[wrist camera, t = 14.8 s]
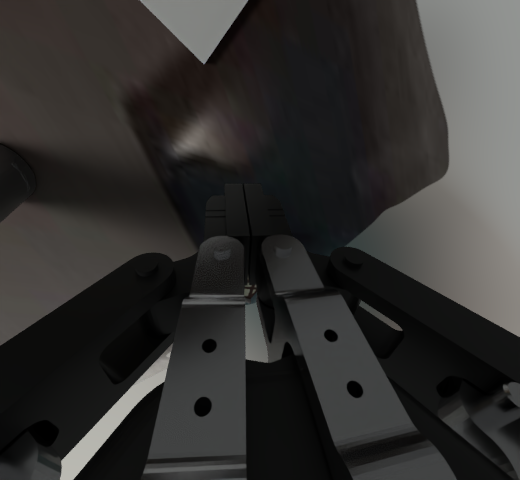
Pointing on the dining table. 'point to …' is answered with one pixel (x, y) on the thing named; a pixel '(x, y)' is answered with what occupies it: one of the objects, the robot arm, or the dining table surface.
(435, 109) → the dining table surface
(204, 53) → the trap lane
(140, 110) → the dining table surface
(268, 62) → the dining table surface
